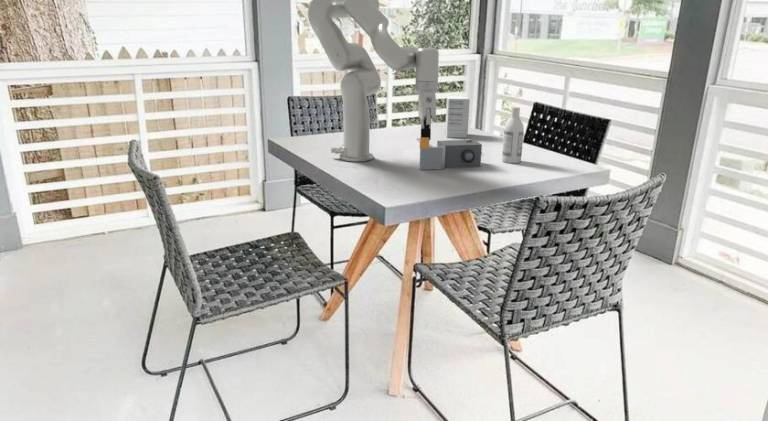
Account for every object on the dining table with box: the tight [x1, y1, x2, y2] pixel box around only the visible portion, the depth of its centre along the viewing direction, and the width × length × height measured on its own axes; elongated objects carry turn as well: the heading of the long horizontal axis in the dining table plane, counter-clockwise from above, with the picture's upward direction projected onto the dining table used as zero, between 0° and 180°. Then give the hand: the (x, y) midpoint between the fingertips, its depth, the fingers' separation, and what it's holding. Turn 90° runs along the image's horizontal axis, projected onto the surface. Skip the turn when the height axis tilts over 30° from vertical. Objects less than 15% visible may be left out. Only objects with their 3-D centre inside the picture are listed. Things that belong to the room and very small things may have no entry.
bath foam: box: [501, 106, 524, 164], centre depth 215 cm, size 7×7×20 cm
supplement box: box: [444, 95, 471, 139], centre depth 258 cm, size 10×9×17 cm
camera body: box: [436, 138, 483, 169], centre depth 211 cm, size 14×10×9 cm
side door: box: [419, 136, 446, 171], centre depth 204 cm, size 1×9×11 cm, turn 105°
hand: (425, 139), depth 204 cm, fingers closed
